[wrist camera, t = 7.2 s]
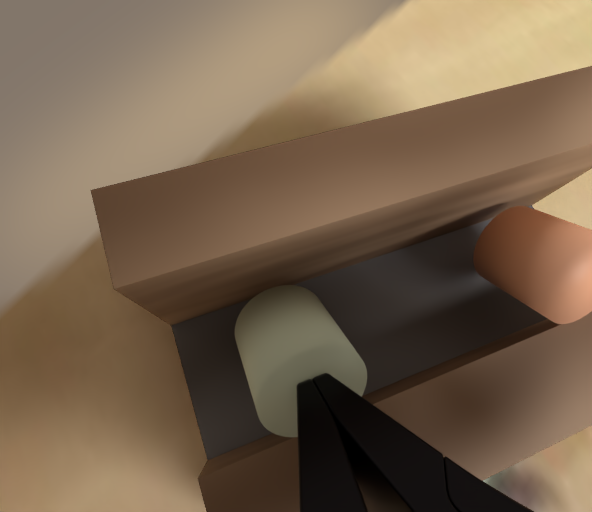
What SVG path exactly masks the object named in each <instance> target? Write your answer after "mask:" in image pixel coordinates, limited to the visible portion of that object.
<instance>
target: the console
mask: <svg viewBox="0 0 592 512" xmlns="http://www.w3.org/2000/svg"><path fill="white" fill-rule="evenodd" d="M591 168H592V66H590V67H586V68H582V69H578V70H573V71H569V72H565V73H561V74H557V75H553V76H549V77H545V78H541V79H537V80H533V81H529V82H525V83H521V84H517V85H513V86H509V87H505V88H501V89H497V90H493V91H489V92H485V93H481V94H477V95H473V96H469V97H465V98H461V99H457V100H453V101H449V102H445V103H441V104H436V105H432V106H428V107H424V108H420V109H416V110H412V111H408V112H404V113H400V114H396V115H392V116H388V117H384V118H380V119H376V120H372V121H368V122H364V123H360V124H356V125H352V126H348V127H344V128H340V129H336V130H332V131H328V132H324V133H320V134H316V135H312V136H308V137H304V138H299V139H295V140H291V141H287V142H283V143H279V144H275V145H271V146H267V147H263V148H259V149H255V150H251V151H247V152H243V153H239V154H235V155H231V156H227V157H223V158H219V159H215V160H211V161H207V162H203V163H199V164H195V165H191V166H187V167H183V168H179V169H175V170H171V171H167V172H163V173H158V174H155V175H150V176H147V177H142V178H138V179H134V180H131V181H126V182H122V183H118V184H114V185H110V186H106V187H102V188H98V189H94V190H91V194H92V197H93V202H94V206H95V211H96V215H97V219H98V223H99V228H100V232H101V236H102V240H103V245H104V249H105V253H106V257H107V262H108V266H109V270H110V274H111V279H112V283H113V287H114V289H115V290H116V291H118V292H119V293H121V294H123V295H124V296H126V297H127V298H129V299H131V300H132V301H134V302H135V303H137V304H138V305H140V306H142V307H143V308H145V309H146V310H148V311H149V312H151V313H153V314H154V315H156V316H157V317H159V318H160V319H162V320H164V321H165V322H167V323H168V324H170V325H171V326H172V330H173V333H174V337H175V341H176V344H177V348H178V352H179V355H180V359H181V363H182V367H183V370H184V374H185V378H186V381H187V385H188V389H189V392H190V396H191V400H192V404H193V407H194V411H195V415H196V418H197V422H198V426H199V429H200V433H201V437H202V441H203V444H204V448H205V452H206V455H207V459H208V461H207V463H206V465H205V466H204V468H203V470H202V472H201V474H200V476H199V477H198V481H199V485H200V488H201V492H202V496H203V500H204V504H205V508H206V511H207V512H299V472H298V437H284V436H280V435H276V434H274V433H272V432H270V431H269V430H267V429H266V428H265V427H264V426H263V424H262V423H261V422H260V419H259V417H258V414H257V411H256V407H255V404H254V401H253V397H252V394H251V391H250V387H249V384H248V380H247V377H246V374H245V370H244V367H243V364H242V360H241V357H240V353H239V350H238V347H237V343H236V340H235V325H236V321H237V318H238V316H239V314H240V312H241V311H242V309H243V308H244V307H245V305H246V304H247V303H248V302H249V301H250V300H251V299H253V298H254V297H255V296H256V295H258V294H259V293H261V292H263V291H265V290H267V289H270V288H273V287H277V286H282V285H296V286H300V287H303V288H306V289H308V290H310V291H311V292H313V293H314V294H315V295H316V296H317V297H318V299H319V300H320V301H321V303H322V304H323V306H324V307H325V308H326V310H327V311H328V312H329V314H330V315H331V317H332V318H333V319H334V321H335V322H336V324H337V325H338V326H339V328H340V329H341V331H342V332H343V333H344V335H345V336H346V338H347V339H348V340H349V342H350V343H351V345H352V346H353V347H354V349H355V350H356V352H357V353H358V354H359V356H360V357H361V359H362V360H363V362H364V363H365V366H366V369H367V384H366V387H365V390H364V393H363V395H362V397H363V398H364V399H366V400H367V401H368V402H370V403H371V404H373V405H374V406H376V407H377V408H378V409H380V410H381V411H383V412H384V413H385V414H387V415H388V416H390V417H391V418H393V419H394V420H395V421H397V422H398V423H400V424H401V425H402V426H404V427H405V428H407V429H408V430H410V431H411V432H412V433H414V434H415V435H417V436H418V437H419V438H421V439H422V440H424V441H425V442H427V443H428V444H429V445H431V446H432V447H434V448H435V449H436V450H438V451H439V452H441V453H442V454H443V456H444V457H445V456H446V457H448V458H449V459H451V460H452V461H454V462H455V463H456V464H458V465H459V466H461V467H462V468H464V469H465V470H467V471H468V472H470V473H471V474H473V475H474V476H476V477H477V478H479V479H480V480H482V481H483V480H485V479H487V478H489V477H491V476H493V475H495V474H496V473H498V472H500V471H502V470H504V469H506V468H508V467H510V466H512V465H514V464H516V463H518V462H520V461H522V460H524V459H526V458H528V457H530V456H532V455H534V454H536V453H538V452H540V451H542V450H544V449H546V448H548V447H550V446H552V445H554V444H556V443H558V442H560V441H562V440H564V439H566V438H568V437H570V436H572V435H574V434H576V433H578V432H580V431H582V430H583V429H585V428H587V427H589V426H591V425H592V311H591V312H590V313H589V314H587V315H586V316H584V317H582V318H581V319H579V320H577V321H574V322H571V323H568V324H557V323H554V322H552V321H551V320H549V319H548V318H546V317H544V316H543V315H541V314H540V313H538V312H537V311H535V310H533V309H532V308H530V307H529V306H527V305H525V304H524V303H522V302H521V301H519V300H517V299H516V298H514V297H513V296H511V295H510V294H508V293H506V292H505V291H503V290H502V289H500V288H498V287H497V286H495V285H494V284H492V283H490V282H489V281H487V280H486V279H484V278H483V277H481V276H480V275H479V274H478V273H477V272H476V270H475V267H474V262H473V255H474V250H475V246H476V243H477V241H478V239H479V237H480V235H481V233H482V231H483V230H484V229H485V227H486V226H487V225H488V224H489V222H490V221H491V220H492V219H493V218H495V217H496V216H497V215H498V214H500V213H501V212H503V211H505V210H507V209H509V208H511V207H515V206H526V207H529V208H532V209H534V208H533V207H532V205H533V204H535V203H536V202H538V201H539V200H541V199H543V198H544V197H546V196H548V195H549V194H551V193H552V192H554V191H556V190H557V189H559V188H561V187H562V186H564V185H565V184H567V183H569V182H570V181H572V180H573V179H575V178H577V177H578V176H580V175H582V174H583V173H585V172H586V171H588V170H590V169H591ZM368 512H369V511H368Z"/></svg>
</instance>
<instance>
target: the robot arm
mask: <svg viewBox="0 0 592 512" xmlns="http://www.w3.org/2000/svg"><path fill="white" fill-rule="evenodd" d="M296 390H297V431H298V472H299V512H368V511H369V512H534V511H532V510H530V509H528V508H527V507H525V506H523V505H522V504H520V503H518V502H516V501H515V500H513V499H511V498H509V497H508V496H506V495H504V494H503V493H501V492H499V491H498V490H496V489H494V488H493V487H491V486H489V485H488V484H486V483H485V482H483V481H482V480H480V479H479V478H477V477H476V476H474V475H473V474H471V473H470V472H468V471H467V470H465V469H464V468H462V467H461V466H459V465H458V464H456V463H455V462H454V461H452V460H451V459H449V458H448V457H446V456H445V457H444V456H443V454H442V453H441V452H439V451H438V450H436V449H435V448H434V447H432V446H431V445H429V444H428V443H427V442H425V441H424V440H422V439H421V438H419V437H418V436H417V435H415V434H414V433H412V432H411V431H410V430H408V429H407V428H405V427H404V426H402V425H401V424H400V423H398V422H397V421H395V420H394V419H393V418H391V417H390V416H388V415H387V414H385V413H384V412H383V411H381V410H380V409H378V408H377V407H376V406H374V405H373V404H371V403H370V402H368V401H367V400H366V399H364V398H363V397H361V396H360V395H359V394H357V393H356V392H354V391H353V390H351V389H350V388H349V387H347V386H346V385H344V384H343V383H341V382H340V381H339V380H337V379H336V378H334V377H333V376H332V375H330V374H329V373H323V374H321V375H318V376H316V377H314V378H313V379H312V380H311V379H308V380H305V381H303V382H300V383H298V384H297V387H296Z"/></svg>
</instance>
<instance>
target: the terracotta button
mask: <svg viewBox="0 0 592 512" xmlns="http://www.w3.org/2000/svg"><path fill="white" fill-rule="evenodd" d="M473 262H474V267H475V270H476V272H477V273H478V274H479V275H480V276H481V277H483V278H484V279H486V280H487V281H489V282H490V283H492V284H494V285H495V286H497V287H498V288H500V289H502V290H503V291H505V292H506V293H508V294H510V295H511V296H513V297H514V298H516V299H517V300H519V301H521V302H522V303H524V304H525V305H527V306H529V307H530V308H532V309H533V310H535V311H537V312H538V313H540V314H541V315H543V316H544V317H546V318H548V319H549V320H551V321H552V322H554V323H557V324H568V323H571V322H574V321H577V320H579V319H581V318H582V317H584V316H586V315H587V314H589V313H590V312H591V311H592V230H590V229H587V228H584V227H582V226H579V225H576V224H573V223H571V222H568V221H565V220H562V219H560V218H557V217H554V216H551V215H549V214H546V213H543V212H540V211H538V210H535V209H532V208H529V207H526V206H515V207H511V208H509V209H507V210H505V211H503V212H501V213H500V214H498V215H497V216H496V217H495V218H493V219H492V220H491V221H490V222H489V224H488V225H487V226H486V227H485V229H484V230H483V231H482V233H481V235H480V237H479V239H478V241H477V243H476V246H475V250H474V255H473Z"/></svg>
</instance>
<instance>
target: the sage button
mask: <svg viewBox="0 0 592 512" xmlns="http://www.w3.org/2000/svg"><path fill="white" fill-rule="evenodd" d="M235 340H236V343H237V347H238V350H239V353H240V357H241V360H242V364H243V367H244V370H245V374H246V377H247V380H248V384H249V387H250V391H251V394H252V397H253V401H254V404H255V407H256V411H257V414H258V417H259V419H260V422H261V423H262V424H263V426H264V427H265V428H266V429H267V430H269V431H270V432H272V433H274V434H276V435H280V436H284V437H298V431H297V390H296V387H297V384H298V383H300V382H303V381H305V380H308V379H311V380H312V379H313V378H314V377H316V376H318V375H321V374H323V373H329V374H330V375H332V376H333V377H334V378H336V379H337V380H339V381H340V382H341V383H343V384H344V385H346V386H347V387H349V388H350V389H351V390H353V391H354V392H356V393H357V394H359V395H360V396H361V397H362V395H363V393H364V390H365V387H366V384H367V369H366V366H365V363H364V362H363V360H362V359H361V357H360V356H359V354H358V353H357V352H356V350H355V349H354V347H353V346H352V345H351V343H350V342H349V340H348V339H347V338H346V336H345V335H344V333H343V332H342V331H341V329H340V328H339V326H338V325H337V324H336V322H335V321H334V319H333V318H332V317H331V315H330V314H329V312H328V311H327V310H326V308H325V307H324V306H323V304H322V303H321V301H320V300H319V299H318V297H317V296H316V295H315V294H314V293H313V292H311V291H310V290H308V289H306V288H303V287H300V286H296V285H282V286H277V287H273V288H270V289H267V290H265V291H263V292H261V293H259V294H258V295H256V296H255V297H254V298H253V299H251V300H250V301H249V302H248V303H247V304H246V305H245V307H244V308H243V309H242V311H241V312H240V314H239V316H238V318H237V321H236V325H235Z"/></svg>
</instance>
